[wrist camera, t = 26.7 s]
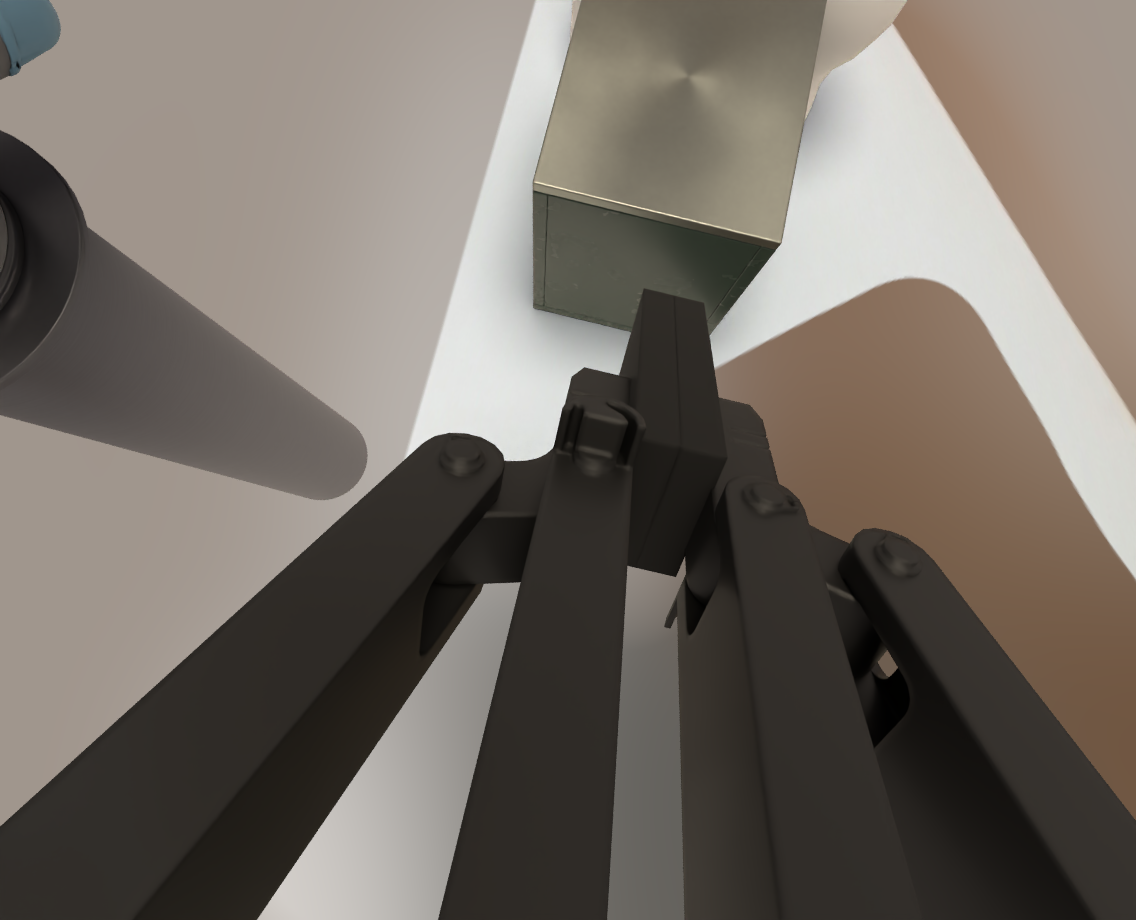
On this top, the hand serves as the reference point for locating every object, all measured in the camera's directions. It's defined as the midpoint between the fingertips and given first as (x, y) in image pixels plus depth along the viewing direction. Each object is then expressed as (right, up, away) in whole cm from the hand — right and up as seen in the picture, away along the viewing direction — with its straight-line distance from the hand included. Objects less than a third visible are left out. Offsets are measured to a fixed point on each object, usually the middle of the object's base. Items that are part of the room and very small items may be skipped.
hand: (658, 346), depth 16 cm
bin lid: (+4, +17, +17) cm, 24 cm away
